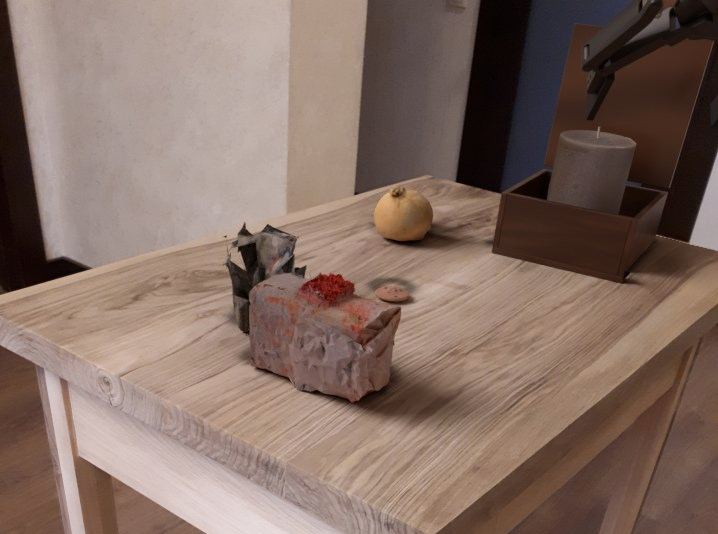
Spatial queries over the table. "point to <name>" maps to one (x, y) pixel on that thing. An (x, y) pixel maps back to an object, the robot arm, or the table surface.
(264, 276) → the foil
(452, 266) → the table surface
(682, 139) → the chest lid
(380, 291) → the cookie
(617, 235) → the chest
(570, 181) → the pillar candle
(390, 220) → the onion
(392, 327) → the food item
